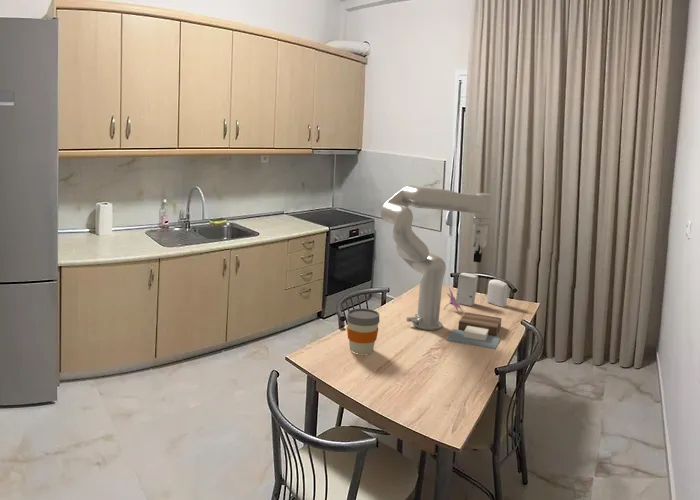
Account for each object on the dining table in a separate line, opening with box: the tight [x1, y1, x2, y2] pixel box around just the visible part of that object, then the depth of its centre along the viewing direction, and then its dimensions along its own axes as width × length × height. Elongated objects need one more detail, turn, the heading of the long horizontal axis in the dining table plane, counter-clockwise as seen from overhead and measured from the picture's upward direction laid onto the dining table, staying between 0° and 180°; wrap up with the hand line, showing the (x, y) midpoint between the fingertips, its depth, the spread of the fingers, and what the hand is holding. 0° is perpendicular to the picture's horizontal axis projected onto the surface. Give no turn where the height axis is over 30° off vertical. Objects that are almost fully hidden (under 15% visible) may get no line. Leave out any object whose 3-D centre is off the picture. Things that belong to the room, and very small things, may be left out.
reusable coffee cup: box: [346, 308, 380, 355], centre depth 231 cm, size 13×13×15 cm
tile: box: [463, 325, 489, 341], centre depth 253 cm, size 8×9×2 cm
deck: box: [457, 311, 502, 336], centre depth 264 cm, size 14×16×4 cm
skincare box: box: [455, 272, 479, 307], centre depth 297 cm, size 8×6×15 cm
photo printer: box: [486, 279, 509, 308], centre depth 298 cm, size 10×4×12 cm, turn 39°
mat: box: [445, 328, 501, 350], centre depth 251 cm, size 14×20×1 cm
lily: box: [443, 287, 462, 314], centre depth 286 cm, size 12×12×10 cm
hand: (477, 261), depth 269 cm, fingers closed
